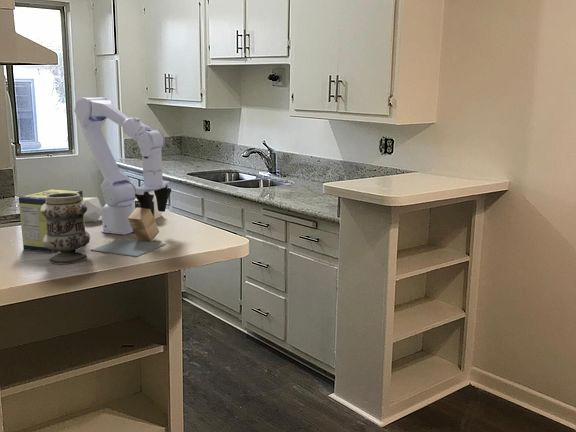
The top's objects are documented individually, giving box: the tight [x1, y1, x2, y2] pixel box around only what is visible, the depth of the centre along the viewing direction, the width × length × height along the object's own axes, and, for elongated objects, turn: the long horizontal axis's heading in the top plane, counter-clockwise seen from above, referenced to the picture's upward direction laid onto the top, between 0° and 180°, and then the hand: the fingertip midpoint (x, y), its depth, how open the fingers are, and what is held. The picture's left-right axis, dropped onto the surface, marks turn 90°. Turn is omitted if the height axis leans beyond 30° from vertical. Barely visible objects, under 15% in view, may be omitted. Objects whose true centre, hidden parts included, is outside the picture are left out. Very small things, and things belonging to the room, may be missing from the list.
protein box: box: [18, 188, 86, 253], centre depth 176 cm, size 10×16×16 cm
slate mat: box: [90, 237, 167, 258], centre depth 174 cm, size 16×14×1 cm
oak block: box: [128, 208, 160, 242], centre depth 180 cm, size 5×5×9 cm
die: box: [83, 197, 103, 223], centre depth 207 cm, size 8×9×10 cm
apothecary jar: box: [41, 192, 91, 265], centre depth 161 cm, size 12×12×18 cm
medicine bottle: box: [134, 183, 163, 221], centre depth 211 cm, size 7×7×12 cm
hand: (154, 213), depth 185 cm, fingers open, 7 cm apart
